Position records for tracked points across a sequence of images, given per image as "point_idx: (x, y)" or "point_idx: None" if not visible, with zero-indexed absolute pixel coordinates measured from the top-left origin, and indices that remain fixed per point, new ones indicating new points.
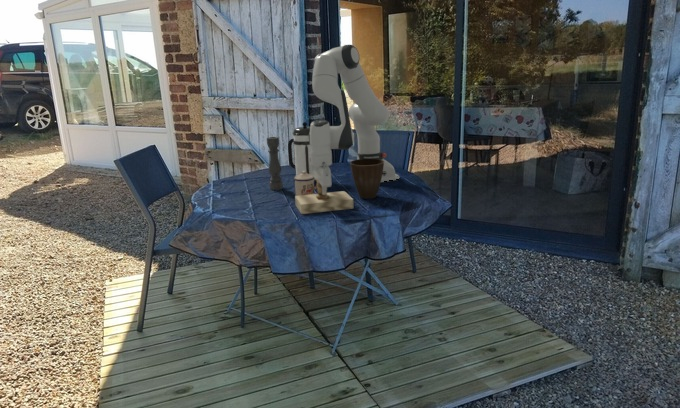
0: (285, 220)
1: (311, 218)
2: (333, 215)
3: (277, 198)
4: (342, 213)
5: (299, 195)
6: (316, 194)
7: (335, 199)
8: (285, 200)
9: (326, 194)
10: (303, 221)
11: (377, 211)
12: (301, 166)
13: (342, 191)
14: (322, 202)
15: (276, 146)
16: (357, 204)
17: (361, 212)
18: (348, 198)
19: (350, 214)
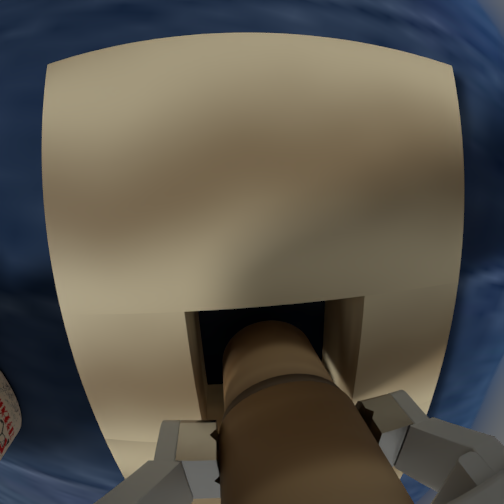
0: (411, 484)
1: (458, 400)
2: (482, 282)
3: (37, 492)
4: (475, 213)
5: (13, 439)
6: (120, 422)
7: (418, 255)
8: (65, 485)
9: (319, 374)
10: (466, 424)
11: (469, 6)
12: None
13: (56, 87)
14: (434, 386)
15: None
16: (293, 16)
17: (481, 87)
18: (425, 96)
19: (499, 169)
